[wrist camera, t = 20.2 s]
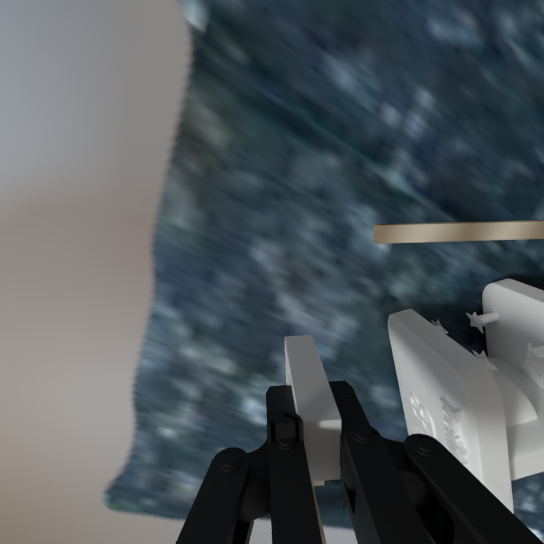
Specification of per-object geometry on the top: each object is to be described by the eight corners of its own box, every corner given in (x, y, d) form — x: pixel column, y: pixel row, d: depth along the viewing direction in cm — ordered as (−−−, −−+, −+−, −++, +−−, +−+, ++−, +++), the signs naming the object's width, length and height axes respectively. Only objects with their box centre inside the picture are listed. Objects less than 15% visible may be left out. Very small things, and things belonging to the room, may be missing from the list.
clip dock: (563, 219, 27) (835, 248, 14) (510, 464, 33) (667, 630, 21) (266, 227, 25) (286, 267, 13) (272, 483, 32) (288, 675, 19)
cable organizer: (506, 413, 32) (649, 538, 20) (401, 443, 32) (487, 585, 20) (493, 270, 28) (662, 328, 16) (373, 304, 28) (461, 386, 16)
